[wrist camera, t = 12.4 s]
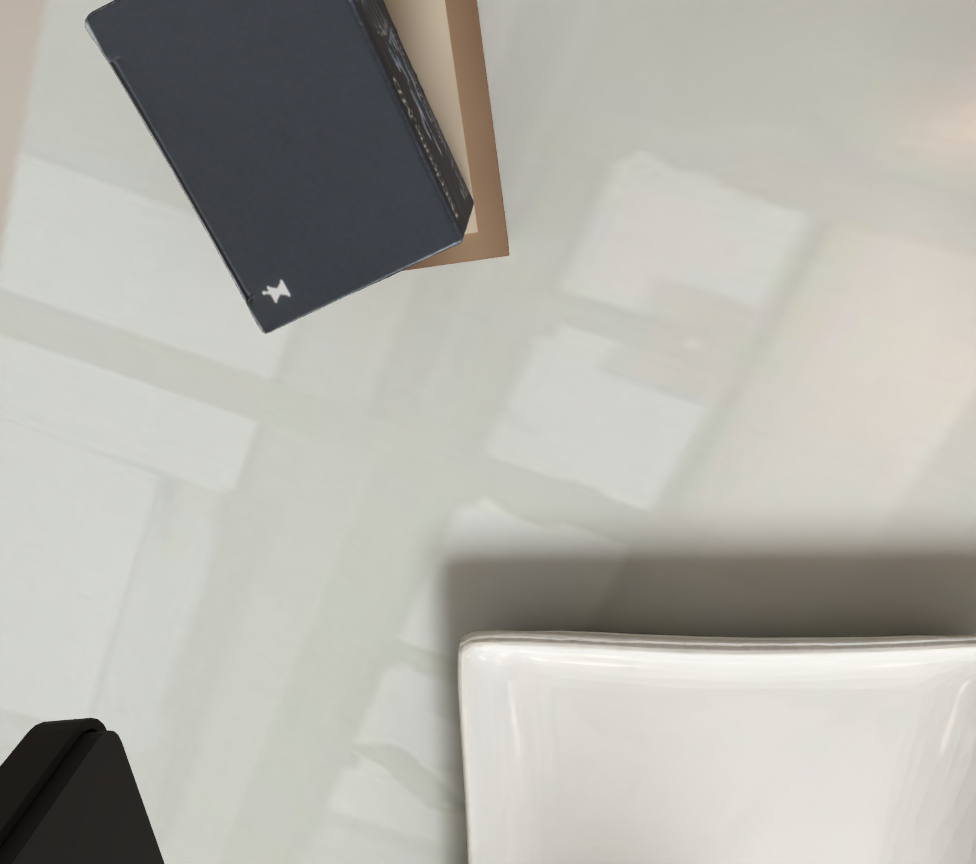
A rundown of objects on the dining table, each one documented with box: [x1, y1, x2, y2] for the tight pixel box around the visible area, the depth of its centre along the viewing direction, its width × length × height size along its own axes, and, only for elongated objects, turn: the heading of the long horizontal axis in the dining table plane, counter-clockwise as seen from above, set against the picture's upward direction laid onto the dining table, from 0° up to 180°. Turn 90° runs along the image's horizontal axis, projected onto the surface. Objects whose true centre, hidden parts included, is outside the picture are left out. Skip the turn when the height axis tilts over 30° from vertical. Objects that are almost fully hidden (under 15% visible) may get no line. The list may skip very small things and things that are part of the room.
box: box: [85, 0, 474, 334], centre depth 23 cm, size 8×6×11 cm
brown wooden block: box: [383, 0, 509, 271], centre depth 30 cm, size 10×10×4 cm
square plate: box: [458, 630, 976, 864], centre depth 43 cm, size 27×27×4 cm
